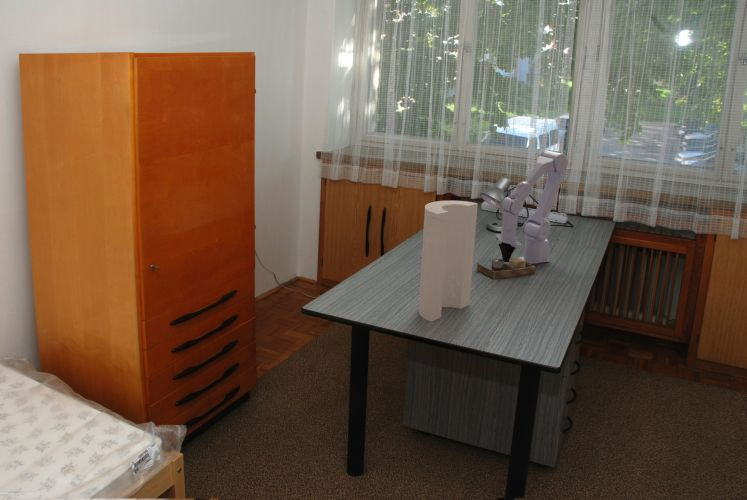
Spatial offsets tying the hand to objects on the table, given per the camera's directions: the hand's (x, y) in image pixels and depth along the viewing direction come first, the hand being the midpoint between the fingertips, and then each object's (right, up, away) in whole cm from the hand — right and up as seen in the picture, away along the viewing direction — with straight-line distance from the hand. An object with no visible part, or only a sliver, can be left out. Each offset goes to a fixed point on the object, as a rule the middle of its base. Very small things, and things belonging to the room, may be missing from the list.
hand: (506, 261), depth 288 cm
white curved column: (-30, -15, -46) cm, 57 cm away
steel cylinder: (-5, -4, -9) cm, 11 cm away
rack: (-1, -4, -7) cm, 8 cm away
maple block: (+3, -3, -5) cm, 7 cm away
